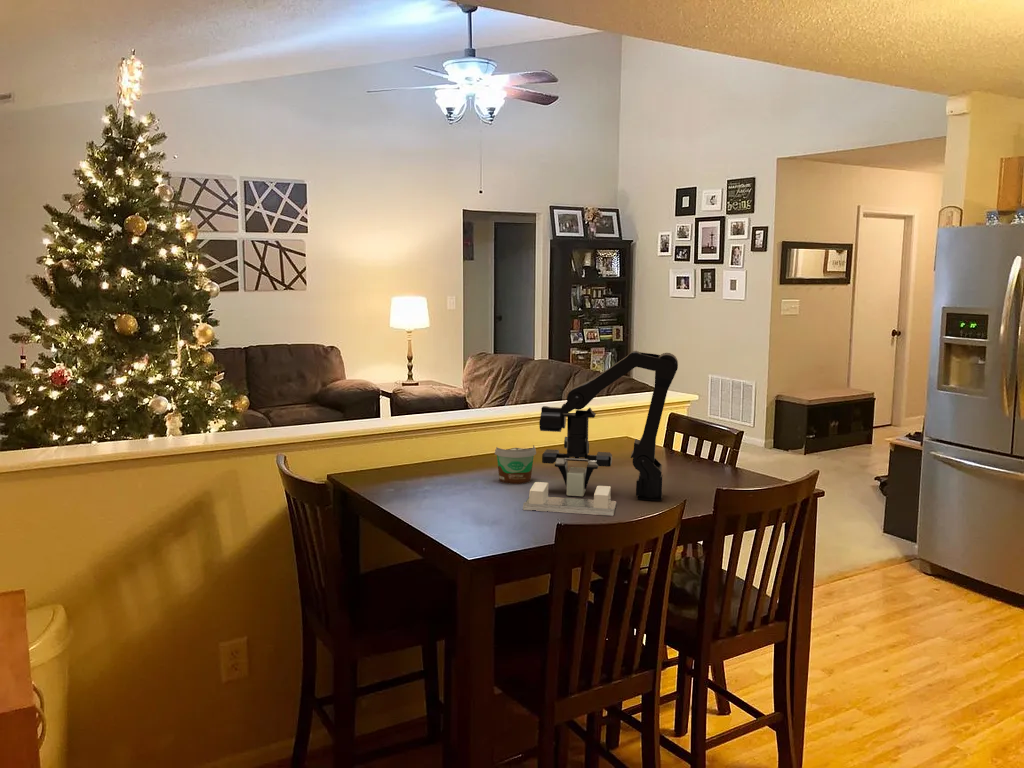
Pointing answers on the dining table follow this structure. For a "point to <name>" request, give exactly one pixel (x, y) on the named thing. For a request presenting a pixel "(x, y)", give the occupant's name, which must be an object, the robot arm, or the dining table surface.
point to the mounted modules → (540, 495)
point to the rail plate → (570, 506)
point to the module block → (576, 481)
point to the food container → (515, 464)
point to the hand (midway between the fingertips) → (576, 488)
